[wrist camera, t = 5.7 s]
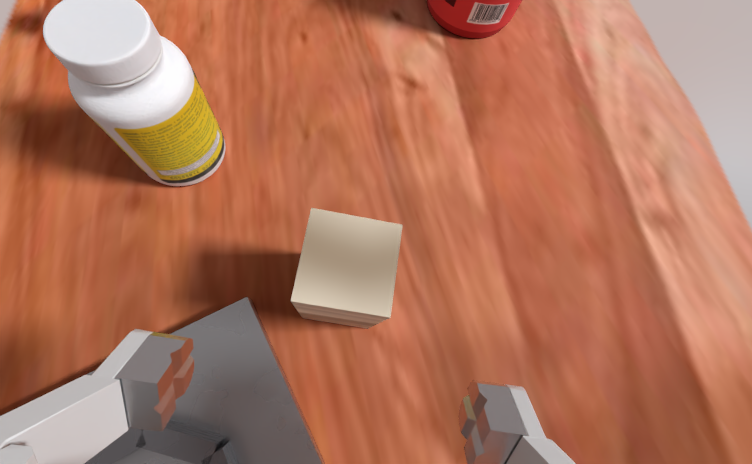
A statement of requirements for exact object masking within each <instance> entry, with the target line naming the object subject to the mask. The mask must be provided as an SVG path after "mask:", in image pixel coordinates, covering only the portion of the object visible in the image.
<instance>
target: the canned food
mask: <svg viewBox="0 0 752 464" xmlns="http://www.w3.org/2000/svg"><path fill="white" fill-rule="evenodd" d="M521 1H522V0H427V4H428V8H429V11H430V13H431V15H432V16H433V18H434V19H435V20H436V22H437V23H438V24H439V25H441V26H442V27H443V28H445V29H446V30H448V31H450V32H451V33H453V34H456V35H459V36H462V37H467V38H485V37H489V36H492V35H494V34H496V33H497V32H499V31H500V30H501V29H502V28H503V27H504V26H505V25H506V24H507V23H508V22H509V21H510V20H511V19H512V17H513V15H514V14H515V12H516V10H517V8H518V7H519V5H520V3H521Z"/></svg>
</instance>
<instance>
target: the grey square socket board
mask: <svg viewBox="0 0 752 464" xmlns="http://www.w3.org/2000/svg"><path fill="white" fill-rule="evenodd" d="M170 335H176V336H181V337H187V338H191V339H193V347H194V348H193V350H192V351H191V353H190V355H191V357H192V358H193V359H194V372H193V376H192V379H191V381H190V384H189V386H188V388H187V390H186V392H185V394H184V395H182V396H181V397H179V398H177V399H176V400H175V402H176V409H175V411H174V413H173V415H172V416H171V418H170V420H169V422H168V423H167V425H166V427H165V429H164V430H163V431H153V430H143V429H133V428H128V431H127V432H125V433H124V434H123V435H121V436H120V437H119V438H117V439H116V440H115V441H113V442H112V443H111V444H109V445H108V446H107V447H105V448H104V449H103V450H102V451H100V452H99V453H98V454H96V455H95V456H94V457H92V458H91V459H90V460H88V461H87V462H86V463H84V464H325V463H324V460H323V458H322V456H321V454H320V452H319V449H318V447H317V445H316V443H315V440H314V438H313V436H312V434H311V431H310V429H309V427H308V425H307V423H306V420H305V418H304V416H303V414H302V411H301V409H300V407H299V405H298V403H297V400H296V398H295V396H294V394H293V391H292V389H291V387H290V385H289V383H288V380H287V378H286V376H285V374H284V371H283V369H282V367H281V365H280V363H279V360H278V358H277V356H276V354H275V351H274V349H273V347H272V345H271V342H270V340H269V338H268V336H267V334H266V331H265V329H264V327H263V325H262V322H261V320H260V318H259V316H258V314H257V311H256V309H255V307H254V305H253V302H252V300H251V299H250V298H248V297H245V298H243V299H241V300H239V301H237V302H235V303H233V304H231V305H229V306H227V307H225V308H223V309H221V310H219V311H216V312H214V313H212V314H210V315H208V316H206V317H204V318H202V319H200V320H198V321H196V322H194V323H192V324H190V325H188V326H185V327H183V328H181V329H179V330H177V331H175V332H173V333H171V334H170ZM95 371H96V370H95ZM95 371H93V372H90V373H88V374H86V375H92V374H93V373H94V372H95Z"/></svg>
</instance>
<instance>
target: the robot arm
mask: <svg viewBox="0 0 752 464" xmlns="http://www.w3.org/2000/svg"><path fill="white" fill-rule="evenodd" d="M193 348H194V347H193V339H191V338H187V337H181V336H176V335H170V334H164V333H158V332H151V331H145V330H139V329H135V330H133V331H131V332H130V333H129V334H128V335H127V336H126V337H125V338H124V339H123V340H122V341H121V343H120V344H119V345H118V346H117V347H116V348H115V349H114V350H113V352H112V353H111V354H110V355H109V356H108V357H107V358H106V359H105V360H104V362H103V363H102V364H101V365H100V366H99V367H98V368H97V369H96V371H95V372H94V373H93V374H92V375H84V376H82V377H80V378H77V379H75V380H73V381H71V382H69V383H67V384H65V385H63V386H61V387H59V388H57V389H55V390H53V391H51V392H49V393H47V394H45V395H43V396H41V397H39V398H37V399H35V400H32V401H30V402H28V403H26V404H24V405H22V406H20V407H18V408H16V409H14V410H12V411H10V412H8V413H6V414H4V415H2V416H0V464H84V463H86V462H87V461H88V460H90V459H91V458H92V457H94V456H95V455H96V454H98V453H99V452H100V451H102V450H103V449H104V448H105V447H107V446H108V445H109V444H111V443H112V442H113V441H115V440H116V439H117V438H119V437H120V436H121V435H123V434H124V433H125V432H127V431H128V428H133V429H143V430H153V431H163V430H164V429H165V427H166V425H167V423H168V422H169V420H170V418H171V416H172V415H173V413H174V411H175V409H176V402H175V400H176V399H177V398H179V397H181V396H182V395H184V394H185V392H186V390H187V388H188V386H189V384H190V381H191V379H192V376H193V372H194V359H193V358H192V357H191V355H190V353H191V351H192V350H193ZM467 389H468V393H469V395H468V396H466V397H465V398H463V400H462V402H461V405H460V409H459V426H460V431H461V433H462V434H463V436H464V437H465V438H466V439H467V442H466V444H465V446H464V450H465V455H466V459H467V464H576V463H575V462H574V461H573V460H572V459H571V458H570V457H569V456H568V455H566V454H565V453H564V452H563V451H562V450H561V449H560V448H559V447H558V446H557V445H556V444H555V443H554V442H553V441H552V440H550V439H546V437H545V434H544V432H543V430H542V427H541V425H540V423H539V420H538V418H537V416H536V414H535V411H534V409H533V407H532V404H531V402H530V400H529V397H528V395H527V393H526V391H525V389H524V388H523V387H519V386H512V385H504V384H499V383H492V382H484V381H477V380H473V381H471V382H470V384H469V386H468V388H467Z"/></svg>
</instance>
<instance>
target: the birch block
mask: <svg viewBox="0 0 752 464" xmlns="http://www.w3.org/2000/svg"><path fill="white" fill-rule="evenodd" d="M401 233H402V225H401V224H395V223H390V222H385V221H379V220H374V219H369V218H363V217H358V216H353V215H347V214H342V213H336V212H331V211H326V210H320V209H315V208H311V211H310V216H309V220H308V225H307V229H306V234H305V238H304V243H303V247H302V252H301V256H300V261H299V265H298V270H297V274H296V279H295V283H294V288H293V292H292V297H291V302H292V304H293V305H294V307H295V308H296V310H297V311H298V312H299V314H300V315H301V317H302V318H305V319H311V320H318V321H324V322H330V323H336V324H342V325H349V326H355V327H361V328H367V329H368V328H370V327H372V326H374V325H376V324H378V323H380V322H382V321H384V320H386V319H389V318H390V317H391V309H392V302H393V294H394V286H395V279H396V271H397V263H398V256H399V248H400V240H401Z"/></svg>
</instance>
